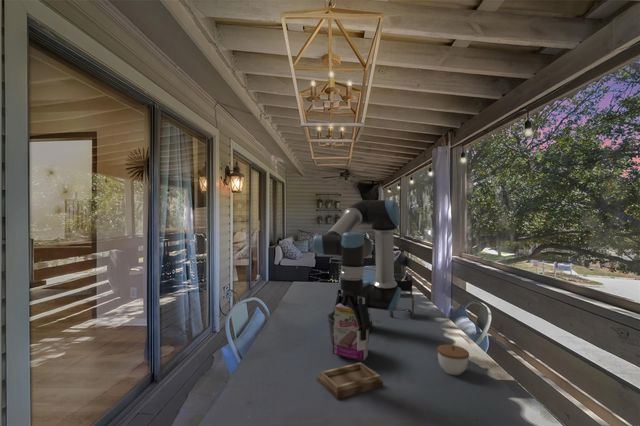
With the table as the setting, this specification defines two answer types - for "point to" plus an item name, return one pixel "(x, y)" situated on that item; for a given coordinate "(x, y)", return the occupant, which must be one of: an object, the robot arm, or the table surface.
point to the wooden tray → (349, 380)
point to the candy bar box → (347, 334)
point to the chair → (406, 287)
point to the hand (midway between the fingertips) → (350, 343)
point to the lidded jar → (453, 359)
